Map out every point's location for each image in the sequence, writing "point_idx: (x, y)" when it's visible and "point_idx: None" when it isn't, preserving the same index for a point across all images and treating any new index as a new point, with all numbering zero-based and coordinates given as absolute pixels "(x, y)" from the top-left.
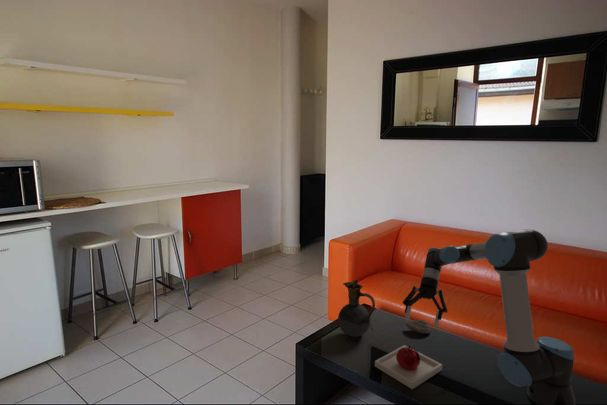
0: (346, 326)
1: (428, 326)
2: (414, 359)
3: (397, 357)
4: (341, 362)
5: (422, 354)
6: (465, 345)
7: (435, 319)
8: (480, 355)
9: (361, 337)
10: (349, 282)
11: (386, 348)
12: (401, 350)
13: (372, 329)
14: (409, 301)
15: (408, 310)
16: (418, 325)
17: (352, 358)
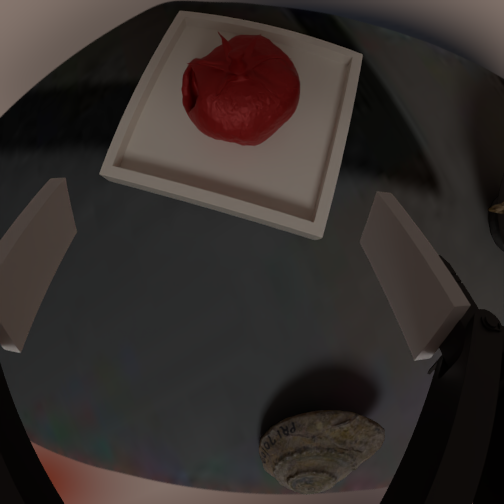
0: None
1: (275, 475)
2: (198, 59)
3: (280, 49)
4: (442, 54)
5: (204, 200)
6: (93, 426)
7: (34, 213)
8: (29, 374)
9: (491, 221)
10: None
11: None
12: (278, 64)
13: (491, 208)
14: (494, 367)
15: (423, 264)
16: (320, 443)
17: (436, 83)
